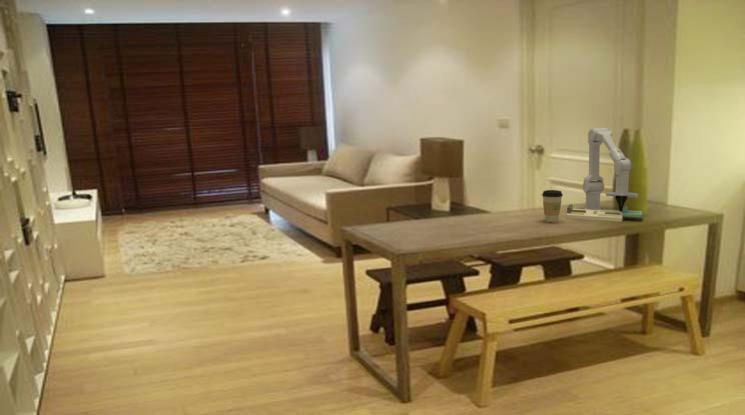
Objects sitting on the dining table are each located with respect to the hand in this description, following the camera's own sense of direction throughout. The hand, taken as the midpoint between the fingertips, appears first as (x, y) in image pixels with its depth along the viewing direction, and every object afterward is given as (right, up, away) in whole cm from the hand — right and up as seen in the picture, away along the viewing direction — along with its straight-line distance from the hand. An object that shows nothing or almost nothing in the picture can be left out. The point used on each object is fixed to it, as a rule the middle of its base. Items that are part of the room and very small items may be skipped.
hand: (620, 211), depth 304 cm
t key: (-18, 0, +10) cm, 21 cm away
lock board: (-10, -3, +7) cm, 13 cm away
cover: (+5, -2, -2) cm, 6 cm away
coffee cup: (-34, -5, 0) cm, 35 cm away
